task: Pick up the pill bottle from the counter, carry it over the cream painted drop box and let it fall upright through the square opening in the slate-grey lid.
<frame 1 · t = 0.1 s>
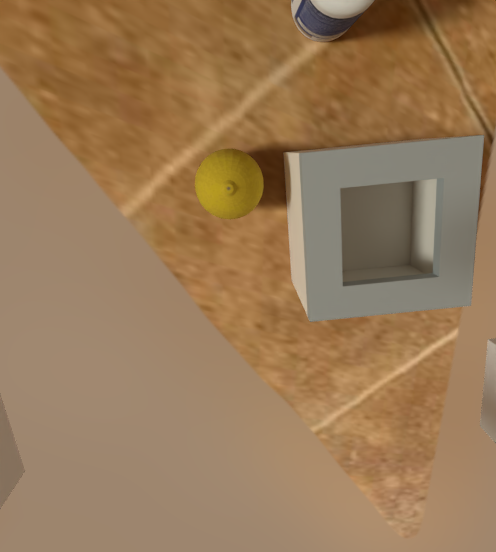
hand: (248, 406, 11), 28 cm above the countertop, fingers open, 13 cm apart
drop box: (351, 213, 38), on the countertop
pill bottle: (322, 6, 33), on the countertop
lemon: (229, 180, 37), on the countertop
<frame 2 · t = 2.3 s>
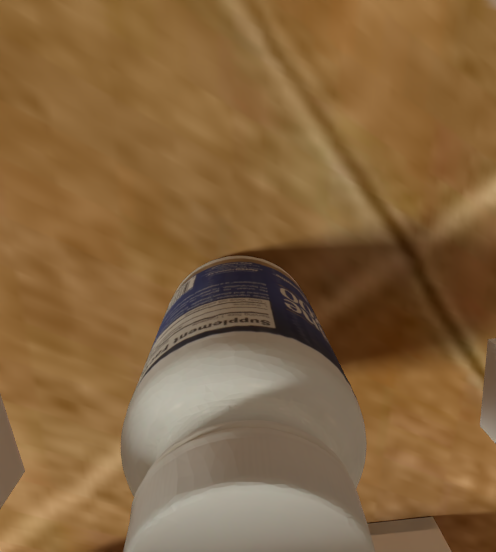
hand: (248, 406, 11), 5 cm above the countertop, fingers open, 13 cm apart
pill bottle: (239, 317, 16), on the countertop
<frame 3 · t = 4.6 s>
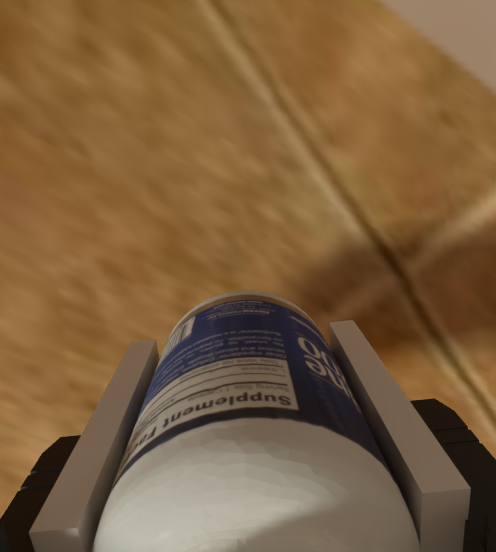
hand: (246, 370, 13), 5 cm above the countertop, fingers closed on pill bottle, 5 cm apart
pill bottle: (246, 360, 13), point 4 cm above the countertop, touching gripper
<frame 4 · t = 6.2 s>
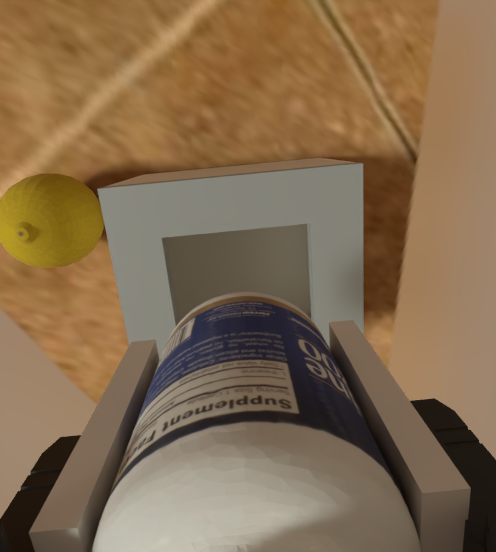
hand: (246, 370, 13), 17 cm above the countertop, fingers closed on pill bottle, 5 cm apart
drop box: (239, 250, 29), on the countertop
pill bottle: (246, 361, 13), point 17 cm above the countertop, touching gripper
lemon: (79, 210, 28), on the countertop
when the fingers open (11 cm above the countertop, at t = 7.8 s): pill bottle drops 10 cm, resting on drop box.
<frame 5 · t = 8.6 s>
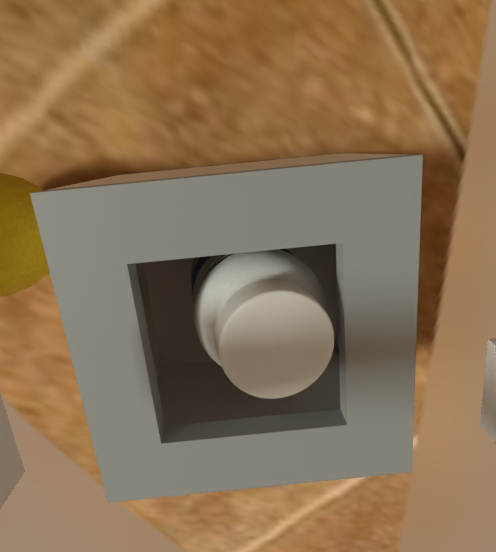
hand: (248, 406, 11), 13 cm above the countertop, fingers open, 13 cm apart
drop box: (240, 269, 24), on the countertop
pill bottle: (238, 269, 23), point 1 cm above the countertop, touching drop box
lemon: (38, 219, 23), on the countertop
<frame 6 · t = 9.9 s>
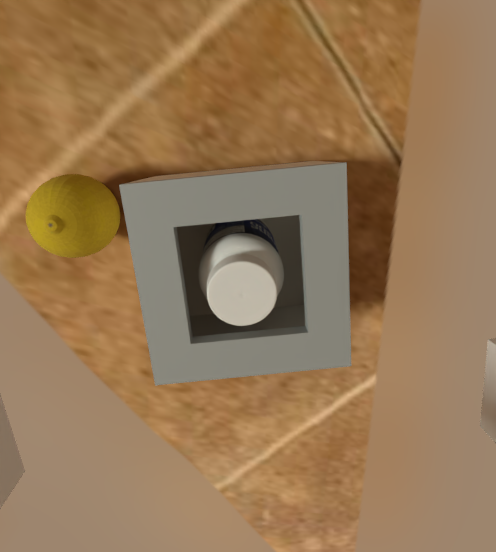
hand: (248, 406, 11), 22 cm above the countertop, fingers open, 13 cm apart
drop box: (241, 245, 32), on the countertop
pill bottle: (239, 244, 32), point 1 cm above the countertop, touching drop box
lemon: (96, 208, 31), on the countertop
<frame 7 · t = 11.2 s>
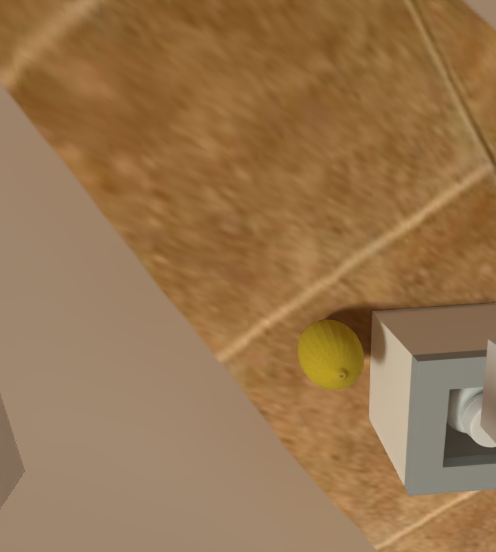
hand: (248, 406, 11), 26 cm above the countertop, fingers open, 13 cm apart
drop box: (429, 362, 40), on the countertop
pill bottle: (431, 363, 40), resting on drop box
lemon: (319, 333, 39), on the countertop
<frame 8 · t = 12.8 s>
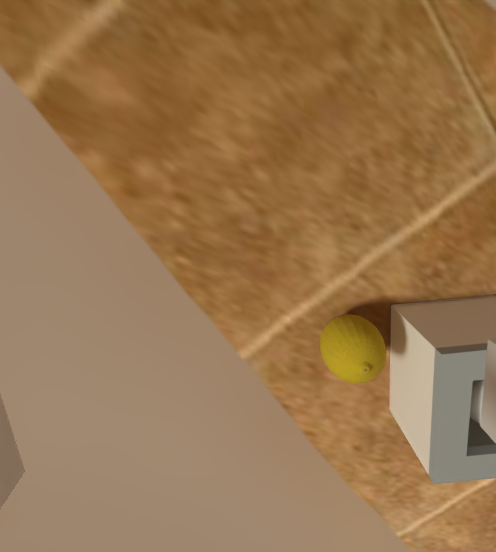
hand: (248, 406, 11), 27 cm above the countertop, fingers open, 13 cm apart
drop box: (448, 353, 41), on the countertop
pill bottle: (450, 354, 40), point 1 cm above the countertop, touching drop box
lemon: (339, 327, 40), on the countertop
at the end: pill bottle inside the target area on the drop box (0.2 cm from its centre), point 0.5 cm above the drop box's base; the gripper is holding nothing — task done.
